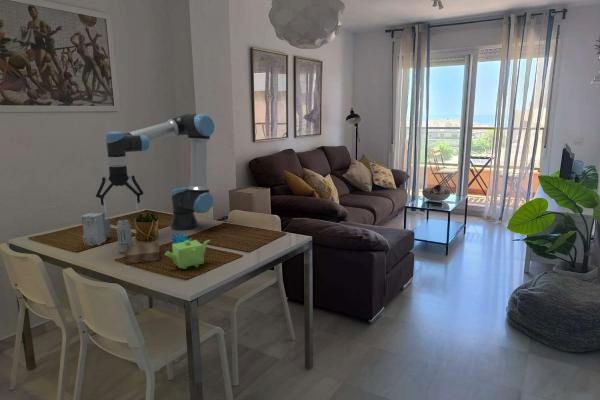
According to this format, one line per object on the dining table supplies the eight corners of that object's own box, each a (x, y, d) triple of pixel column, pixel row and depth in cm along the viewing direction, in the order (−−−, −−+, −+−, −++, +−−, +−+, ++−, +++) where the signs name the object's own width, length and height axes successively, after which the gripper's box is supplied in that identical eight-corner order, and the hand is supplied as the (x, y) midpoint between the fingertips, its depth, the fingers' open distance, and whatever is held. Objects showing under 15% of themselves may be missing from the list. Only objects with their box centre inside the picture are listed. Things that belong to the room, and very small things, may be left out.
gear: (177, 249, 193) (169, 232, 196) (172, 256, 196) (163, 239, 199) (196, 247, 202) (188, 230, 205) (190, 253, 204) (182, 237, 208)
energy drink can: (116, 253, 193) (113, 222, 190) (122, 249, 199) (119, 219, 196) (129, 253, 193) (126, 222, 190) (134, 249, 199) (132, 219, 196)
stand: (159, 250, 196) (158, 242, 196) (160, 260, 184) (159, 251, 183) (127, 254, 192) (127, 246, 191) (126, 264, 179) (125, 255, 178)
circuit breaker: (113, 237, 219) (110, 210, 216) (98, 245, 205) (94, 216, 202) (100, 236, 220) (97, 209, 217) (83, 245, 206) (80, 216, 203)
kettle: (211, 261, 182) (210, 237, 180) (198, 273, 169) (197, 247, 166) (180, 259, 185) (179, 235, 183) (165, 270, 171) (163, 245, 169)
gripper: (146, 163, 195) (149, 207, 199) (88, 165, 187) (93, 211, 191) (146, 165, 188) (149, 210, 192) (86, 167, 180) (91, 214, 184)
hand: (121, 210), depth 192 cm, fingers open, 13 cm apart
